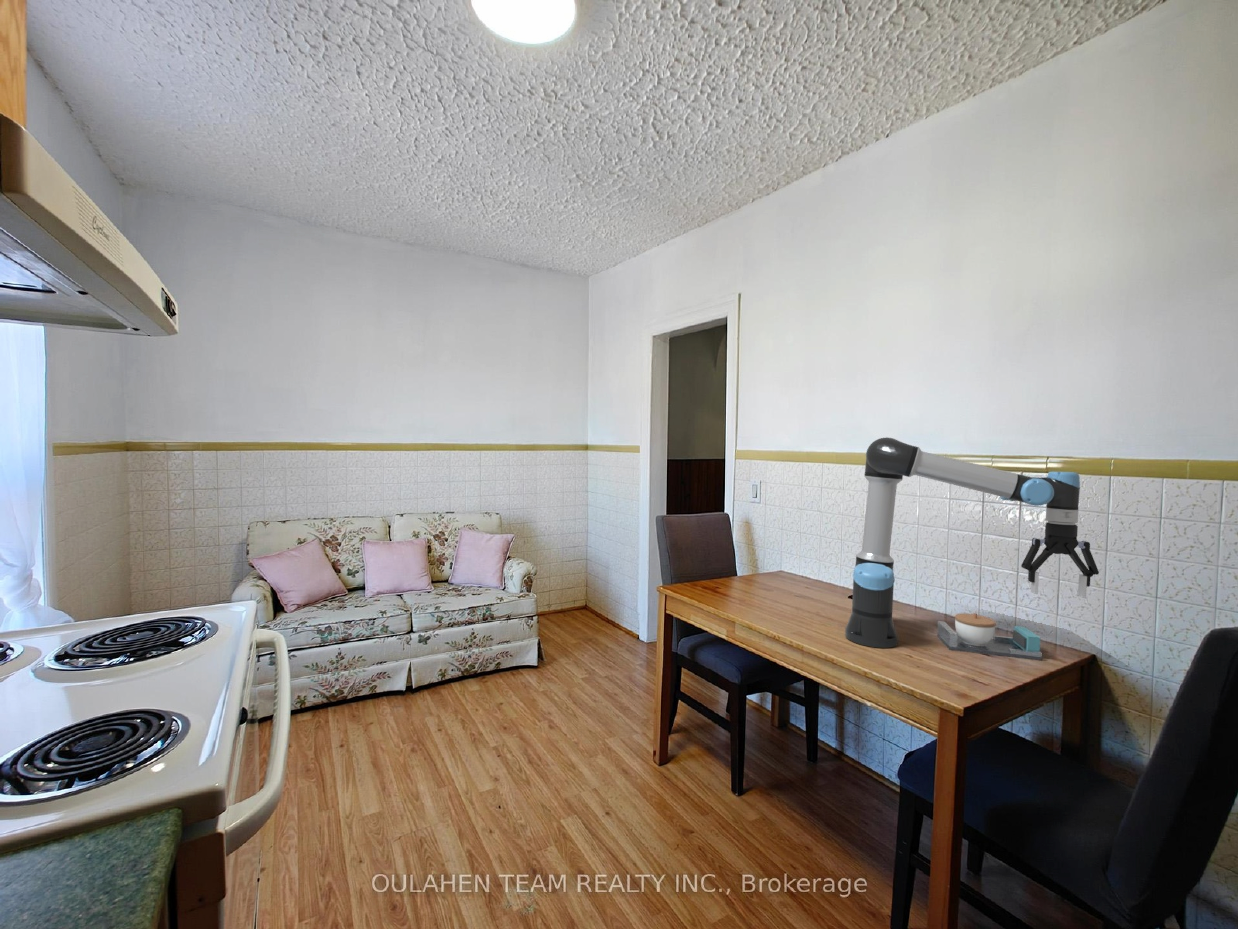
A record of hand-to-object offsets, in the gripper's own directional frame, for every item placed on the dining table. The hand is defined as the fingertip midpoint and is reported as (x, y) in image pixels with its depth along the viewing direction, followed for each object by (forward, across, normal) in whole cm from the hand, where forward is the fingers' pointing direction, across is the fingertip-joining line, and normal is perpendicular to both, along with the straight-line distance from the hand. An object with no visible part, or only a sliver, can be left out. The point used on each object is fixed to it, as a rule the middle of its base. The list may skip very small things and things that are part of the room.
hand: (1057, 595), depth 163 cm
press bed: (+18, -18, 0) cm, 26 cm away
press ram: (+17, -8, 0) cm, 19 cm away
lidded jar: (+17, -22, 0) cm, 28 cm away
